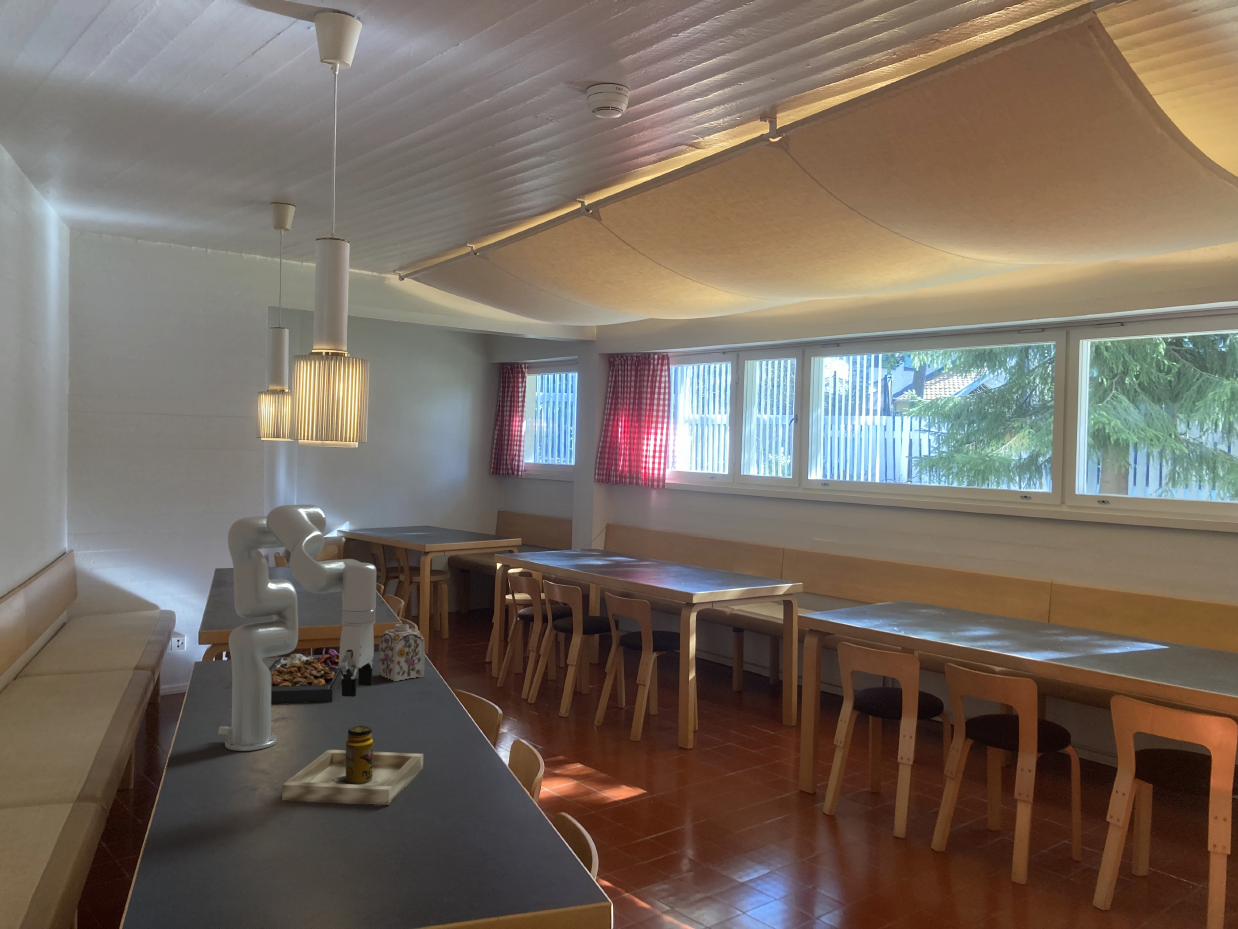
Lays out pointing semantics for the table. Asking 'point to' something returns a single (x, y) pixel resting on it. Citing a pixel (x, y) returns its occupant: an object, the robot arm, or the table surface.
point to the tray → (321, 787)
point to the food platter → (305, 678)
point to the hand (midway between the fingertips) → (357, 690)
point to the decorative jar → (401, 653)
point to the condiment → (358, 757)
